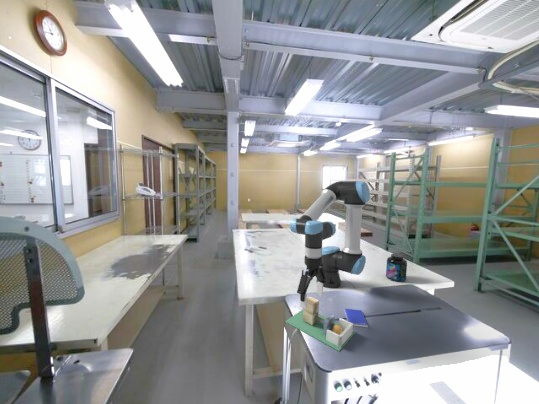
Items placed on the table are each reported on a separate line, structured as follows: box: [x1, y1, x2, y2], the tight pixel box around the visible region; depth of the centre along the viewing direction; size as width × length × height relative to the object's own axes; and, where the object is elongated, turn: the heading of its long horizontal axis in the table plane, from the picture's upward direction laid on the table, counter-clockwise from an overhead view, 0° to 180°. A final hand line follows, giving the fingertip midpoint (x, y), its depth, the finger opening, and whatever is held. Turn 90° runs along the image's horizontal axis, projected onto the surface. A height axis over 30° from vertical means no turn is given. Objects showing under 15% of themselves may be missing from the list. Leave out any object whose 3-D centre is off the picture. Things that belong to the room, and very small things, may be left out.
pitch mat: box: [284, 309, 357, 352], centre depth 101 cm, size 16×26×1 cm, turn 47°
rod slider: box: [302, 296, 336, 334], centre depth 101 cm, size 7×12×10 cm, turn 47°
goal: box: [326, 317, 355, 347], centre depth 95 cm, size 12×6×4 cm, turn 137°
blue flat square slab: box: [344, 308, 369, 328], centre depth 108 cm, size 2×8×12 cm
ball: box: [332, 325, 342, 335], centre depth 95 cm, size 4×4×4 cm
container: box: [385, 253, 408, 283], centre depth 155 cm, size 12×12×17 cm
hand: (312, 301), depth 104 cm, fingers open, 13 cm apart
